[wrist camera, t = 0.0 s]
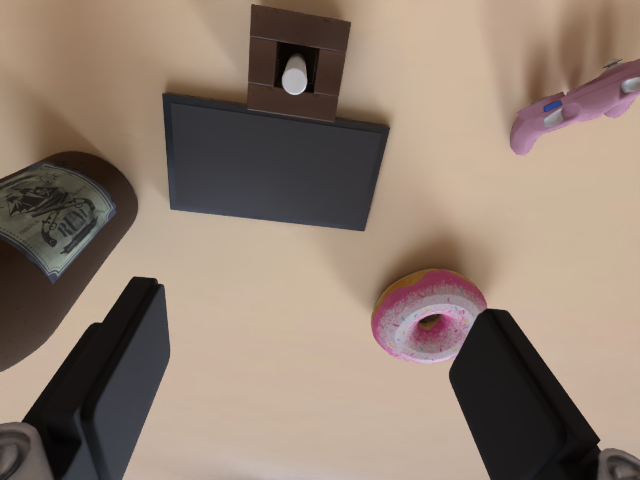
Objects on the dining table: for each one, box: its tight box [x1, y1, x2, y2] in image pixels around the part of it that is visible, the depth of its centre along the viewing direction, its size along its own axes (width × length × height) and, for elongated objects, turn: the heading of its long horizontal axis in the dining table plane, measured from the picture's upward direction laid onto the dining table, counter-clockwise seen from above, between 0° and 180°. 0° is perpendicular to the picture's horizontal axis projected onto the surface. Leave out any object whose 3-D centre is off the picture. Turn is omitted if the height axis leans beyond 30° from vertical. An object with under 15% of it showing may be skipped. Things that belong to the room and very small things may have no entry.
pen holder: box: [247, 4, 351, 122], centre depth 28 cm, size 7×7×5 cm
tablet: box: [162, 92, 390, 231], centre depth 34 cm, size 11×20×1 cm, turn 81°
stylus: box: [282, 53, 307, 95], centre depth 25 cm, size 1×1×12 cm
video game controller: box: [510, 59, 640, 156], centre depth 30 cm, size 10×5×7 cm, turn 114°
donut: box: [371, 268, 487, 363], centre depth 43 cm, size 14×13×5 cm
